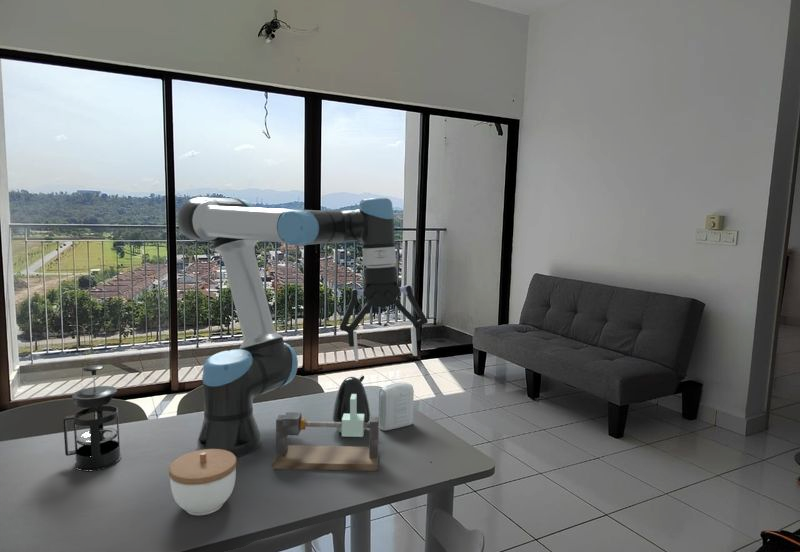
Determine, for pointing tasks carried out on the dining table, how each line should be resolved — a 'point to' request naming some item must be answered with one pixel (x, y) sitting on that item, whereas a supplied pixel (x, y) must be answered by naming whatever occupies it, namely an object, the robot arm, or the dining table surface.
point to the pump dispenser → (343, 400)
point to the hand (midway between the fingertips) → (385, 357)
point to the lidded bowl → (203, 480)
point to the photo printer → (396, 406)
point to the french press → (94, 427)
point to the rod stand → (322, 447)
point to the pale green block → (353, 420)
